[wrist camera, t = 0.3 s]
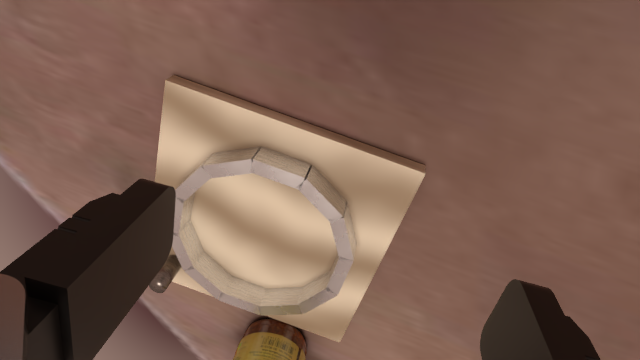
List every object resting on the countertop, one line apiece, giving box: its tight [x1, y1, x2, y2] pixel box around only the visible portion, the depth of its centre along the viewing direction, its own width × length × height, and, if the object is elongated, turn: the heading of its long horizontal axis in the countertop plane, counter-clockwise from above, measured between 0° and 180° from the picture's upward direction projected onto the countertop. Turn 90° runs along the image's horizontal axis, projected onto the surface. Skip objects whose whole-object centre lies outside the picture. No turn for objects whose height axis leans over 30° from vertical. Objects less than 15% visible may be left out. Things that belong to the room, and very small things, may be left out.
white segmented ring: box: [149, 146, 357, 315], centre depth 31 cm, size 14×14×3 cm
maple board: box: [155, 75, 426, 343], centre depth 33 cm, size 18×18×1 cm
